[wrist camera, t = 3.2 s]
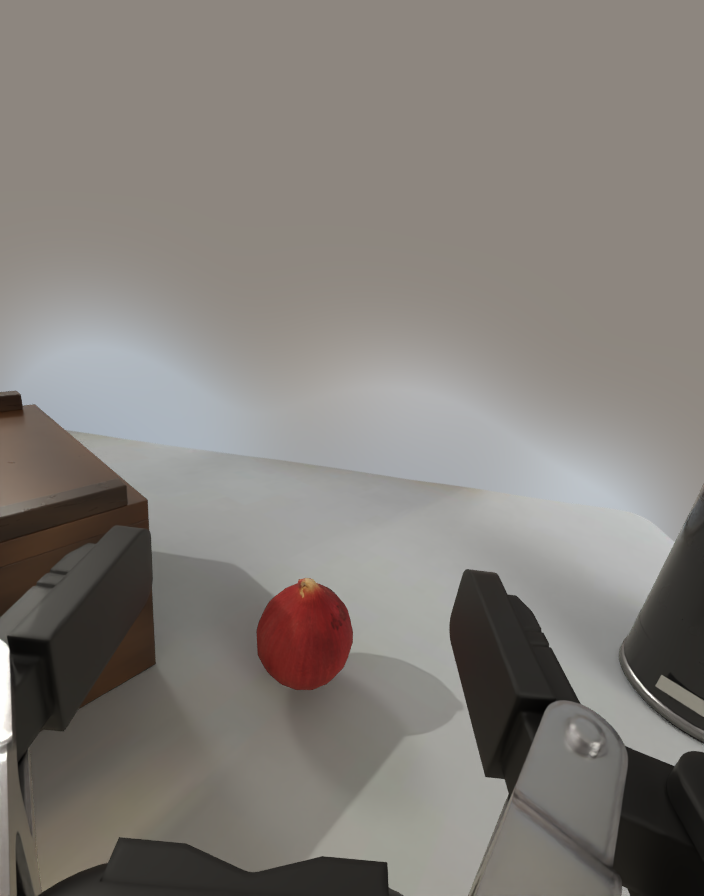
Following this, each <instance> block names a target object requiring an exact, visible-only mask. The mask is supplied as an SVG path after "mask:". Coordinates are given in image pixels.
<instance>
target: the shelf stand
mask: <svg viewBox="0 0 704 896" xmlns="http://www.w3.org/2000/svg"><path fill="white" fill-rule="evenodd" d="M116 525H119V526H127V527H136V528H144V529H148V530H149V519H148V500H147V499H146V498H145V497H144V496H142V495H141V494H140V493H139V492H138V491H136V490H135V489H134V488H133V487H132V486H131V485H129V484H128V483H127V482H126V481H125V480H123V479H122V478H121V477H120V476H119V475H118V474H116V473H115V472H114V471H113V470H112V469H110V468H109V467H108V466H107V465H106V464H105V463H103V462H102V461H101V460H100V459H99V458H97V457H96V456H95V455H94V454H93V453H92V452H90V451H89V450H88V449H87V448H86V447H84V446H83V445H82V444H81V443H80V442H79V441H77V440H76V439H75V438H74V437H73V436H71V435H70V434H69V433H68V432H67V431H66V430H64V429H63V428H62V427H61V426H59V425H58V424H57V423H56V422H55V421H54V420H53V419H51V418H50V417H49V416H48V415H46V414H45V413H44V412H43V411H42V410H41V409H39V408H38V407H37V406H36V405H25V406H22V400H21V395H20V394H19V393H18V392H17V391H8V392H0V617H1V616H2V615H3V614H4V613H5V612H6V611H7V610H8V609H10V608H11V607H12V606H13V605H14V604H15V603H16V602H17V601H18V600H19V599H20V598H21V597H22V596H23V595H24V594H25V593H26V592H27V591H28V590H29V589H30V588H32V587H33V586H36V584H37V582H38V581H39V580H40V579H41V578H42V577H43V576H44V575H45V574H46V573H49V572H50V569H51V568H52V567H53V566H55V565H56V564H57V563H58V562H59V561H60V560H61V559H62V558H63V557H64V556H65V555H66V554H68V553H70V552H72V551H74V550H76V549H77V548H79V547H81V546H83V545H85V544H87V543H94V544H96V543H97V542H98V541H99V540H100V539H101V538H102V537H103V536H104V535H105V534H106V533H107V532H108V531H109V530H110V529H111V528H112V527H114V526H116ZM155 663H156V662H155V641H154V621H153V601H152V588H151V592H150V595H149V598H148V600H147V603H146V604H145V606H144V608H143V609H142V611H141V612H140V614H139V616H138V617H137V619H136V620H135V622H134V623H133V625H132V626H131V628H130V629H129V631H128V633H127V634H126V636H125V637H124V639H123V640H122V642H121V643H120V645H119V647H118V648H117V650H116V651H115V653H114V654H113V656H112V657H111V659H110V661H109V662H108V664H107V665H106V667H105V668H104V670H103V671H102V673H101V674H100V676H99V678H98V679H97V681H96V682H95V684H94V685H93V687H92V688H91V690H90V692H89V693H88V695H87V696H86V698H85V699H84V701H83V702H82V704H81V706H80V707H79V708H81V707H82V706H84V705H86V704H88V703H89V702H91V701H93V700H94V699H96V698H98V697H100V696H101V695H103V694H105V693H106V692H108V691H110V690H112V689H113V688H115V687H117V686H118V685H120V684H122V683H123V682H125V681H127V680H129V679H130V678H132V677H134V676H135V675H137V674H139V673H141V672H142V671H144V670H146V669H147V668H149V667H151V666H153V665H154V664H155ZM41 730H43V729H41ZM41 730H40V731H41Z"/></svg>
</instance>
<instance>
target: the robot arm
mask: <svg viewBox="0 0 704 896" xmlns="http://www.w3.org/2000/svg"><path fill="white" fill-rule="evenodd" d="M152 580H153V577H152V552H151V534H150V531H149V530H148V529H144V528H136V527H127V526H119V525H116V526H114V527H112V528H111V529H110V530H109V531H108V532H107V533H106V534H105V535H104V536H103V537H102V538H101V539H100V540H99V541H98V542H97V543H96V544H94V543H87V544H85V545H83V546H81V547H79V548H77V549H76V550H74V551H72V552H70V553H68V554H66V555H65V556H64V557H63V558H62V559H61V560H60V561H59V562H58V563H57V564H56V565H55V566H53V567H52V568H51V569H50V572H49V573H46V574H45V575H44V576H43V577H42V578H41V579H40V580H39V581H38V582H37V584H36V586H33V587H32V588H30V589H29V590H28V591H27V592H26V593H25V594H24V595H23V596H22V597H21V598H20V599H19V600H18V601H17V602H16V603H15V604H14V605H13V606H12V607H11V608H10V609H8V610H7V611H6V612H5V613H4V614H3V615H2V616H1V617H0V896H403V895H402V894H400V893H399V892H397V891H395V890H392V889H390V888H388V869H387V862H377V861H366V860H355V859H345V858H334V857H323V856H322V857H318V858H314V859H310V860H306V861H301V862H297V863H293V864H289V865H285V866H280V867H276V868H272V869H268V870H264V871H260V872H247V871H244V870H242V869H240V868H237V867H235V866H233V865H231V864H229V863H227V862H225V861H222V860H220V859H218V858H216V857H214V856H212V855H210V854H207V853H205V852H203V851H201V850H199V849H197V848H194V847H192V846H190V845H188V844H185V843H174V842H163V841H152V840H142V839H131V838H120V837H119V839H118V841H117V843H116V846H115V848H114V850H113V853H112V855H111V858H110V860H109V862H108V863H106V864H101V865H98V866H95V867H92V868H90V869H87V870H84V871H81V872H79V873H77V874H75V875H73V876H71V877H69V878H67V879H65V880H63V881H61V882H59V883H57V884H55V885H54V886H52V887H51V888H49V889H47V890H46V891H44V892H42V887H41V879H40V871H39V865H38V856H37V846H36V831H35V816H34V801H33V785H32V770H31V754H30V749H29V746H30V745H31V743H32V742H33V740H34V739H35V738H36V736H37V735H38V733H39V732H40V730H41V729H45V730H55V731H64V730H65V729H66V727H67V726H68V724H69V723H70V721H71V719H72V718H73V716H74V715H75V713H76V712H77V710H78V709H79V707H80V706H81V704H82V702H83V701H84V699H85V698H86V696H87V695H88V693H89V692H90V690H91V688H92V687H93V685H94V684H95V682H96V681H97V679H98V678H99V676H100V674H101V673H102V671H103V670H104V668H105V667H106V665H107V664H108V662H109V661H110V659H111V657H112V656H113V654H114V653H115V651H116V650H117V648H118V647H119V645H120V643H121V642H122V640H123V639H124V637H125V636H126V634H127V633H128V631H129V629H130V628H131V626H132V625H133V623H134V622H135V620H136V619H137V617H138V616H139V614H140V612H141V611H142V609H143V608H144V606H145V604H146V603H147V600H148V598H149V595H150V592H151V588H152ZM450 641H451V645H452V649H453V653H454V657H455V661H456V664H457V668H458V672H459V676H460V680H461V684H462V688H463V692H464V696H465V699H466V703H467V707H468V711H469V715H470V719H471V723H472V727H473V731H474V734H475V738H476V742H477V746H478V750H479V754H480V758H481V762H482V766H483V770H484V773H485V777H491V778H501V779H505V782H506V785H507V789H508V792H509V795H508V797H507V799H506V802H505V804H504V807H503V809H502V812H501V814H500V817H499V819H498V822H497V824H496V827H495V829H494V832H493V834H492V837H491V839H490V842H489V844H488V847H487V849H486V852H485V854H484V857H483V859H482V862H481V864H480V867H479V869H478V872H477V874H476V877H475V879H474V882H473V884H472V887H471V889H470V892H469V894H468V896H621V893H622V886H624V887H626V888H628V891H629V893H630V896H704V753H703V752H697V751H691V752H687V753H685V754H683V755H682V756H681V757H680V759H679V761H678V762H677V764H676V765H675V766H672V765H670V764H667V763H665V762H663V761H660V760H658V759H655V758H653V757H650V756H648V755H645V754H643V753H640V752H638V751H635V750H633V749H631V748H628V747H626V746H625V745H624V743H623V741H622V740H621V738H620V736H619V735H618V733H617V732H616V731H615V730H614V728H613V727H612V726H611V725H610V724H609V723H608V722H607V721H606V720H605V719H604V718H602V717H601V716H600V715H599V714H597V713H596V712H594V711H593V710H591V709H589V708H587V707H586V706H583V705H581V704H580V702H579V700H578V698H577V696H576V694H575V692H574V691H573V689H572V687H571V685H570V683H569V681H568V679H567V677H566V675H565V673H564V671H563V670H562V668H561V666H560V664H559V662H558V660H557V658H556V656H555V654H554V652H553V650H552V649H551V648H549V643H548V641H547V639H546V637H545V635H544V633H542V632H541V628H540V626H539V624H538V622H537V620H536V618H535V616H534V614H533V612H532V611H531V610H530V609H529V608H528V607H527V606H526V605H525V604H524V603H523V602H522V601H521V600H520V599H519V598H518V597H517V596H514V595H507V593H506V590H505V588H504V586H503V584H502V582H501V580H500V578H499V576H498V574H497V573H493V572H485V571H477V570H469V569H467V570H465V571H464V573H463V575H462V579H461V582H460V586H459V589H458V592H457V596H456V599H455V603H454V606H453V610H452V613H451V618H450ZM619 661H620V665H621V667H622V670H623V672H624V674H625V676H626V677H627V679H628V681H629V682H630V683H631V685H632V686H633V688H634V689H635V690H636V691H637V692H638V694H639V695H640V696H641V697H642V698H643V699H644V700H645V701H646V702H647V703H648V704H649V705H650V706H651V707H652V708H653V709H654V710H656V711H657V712H658V713H659V714H660V715H662V716H663V717H664V718H665V719H667V720H668V721H669V722H671V723H672V724H674V725H675V726H677V727H678V728H680V729H681V730H683V731H684V732H686V733H688V734H689V735H691V736H693V737H695V738H697V739H698V740H700V741H702V742H704V484H703V486H702V488H701V490H700V493H699V495H698V497H697V499H696V501H695V503H694V505H693V507H692V509H691V511H690V513H689V515H688V517H687V519H686V521H685V523H684V525H683V527H682V529H681V531H680V533H679V535H678V537H677V539H676V541H675V543H674V545H673V547H672V549H671V551H670V553H669V555H668V557H667V559H666V561H665V563H664V565H663V567H662V569H661V571H660V573H659V575H658V577H657V579H656V581H655V583H654V585H653V587H652V589H651V591H650V593H649V595H648V597H647V599H646V601H645V603H644V605H643V607H642V609H641V611H640V613H639V615H638V617H637V619H636V621H635V623H634V625H633V627H632V629H631V631H630V633H629V635H628V636H627V637H626V638H625V639H624V641H623V643H622V645H621V647H620V650H619Z"/></svg>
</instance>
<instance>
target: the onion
mask: <svg viewBox="0 0 704 896" xmlns="http://www.w3.org/2000/svg"><path fill="white" fill-rule="evenodd" d="M352 643H353V631H352V626H351V621H350V617H349V613H348V610H347V608H346V606H345V604H344V603H343V602H342V601H341V600H340V599H339V597H338V596H337V595H336V594H335V593H334V592H333V591H332V590H331V589H329V588H328V587H325V586H323V585H320V584H318V583H316V582H315V581H314V580H313V579H310V578H304V579H299V581H298V583H297V584H295V585H292V586H290V587H287V588H285V589H284V590H283V591H282V592H280V593H279V594H278V595H276V596H275V597H274V598H272V600H271V601H270V602H269V603H268V605H267V606H266V608H265V610H264V612H263V614H262V616H261V619H260V621H259V624H258V627H257V648H258V656H259V658H260V660H261V662H262V664H263V665H264V667H265V669H266V670H267V672H268V673H269V674H270V675H271V676H272V677H273V678H274V679H276V680H277V681H278V682H279V683H280V684H282V685H285V686H287V687H290V688H293V689H295V690H313V689H315V688H318V687H320V686H323V685H325V684H327V683H328V682H329V681H330V680H332V679H333V678H334V677H335V676H336V675H337V674H338V673H339V672H340V671H341V670H342V668H343V667H344V665H345V663H346V660H347V658H348V655H349V652H350V649H351V646H352Z"/></svg>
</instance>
